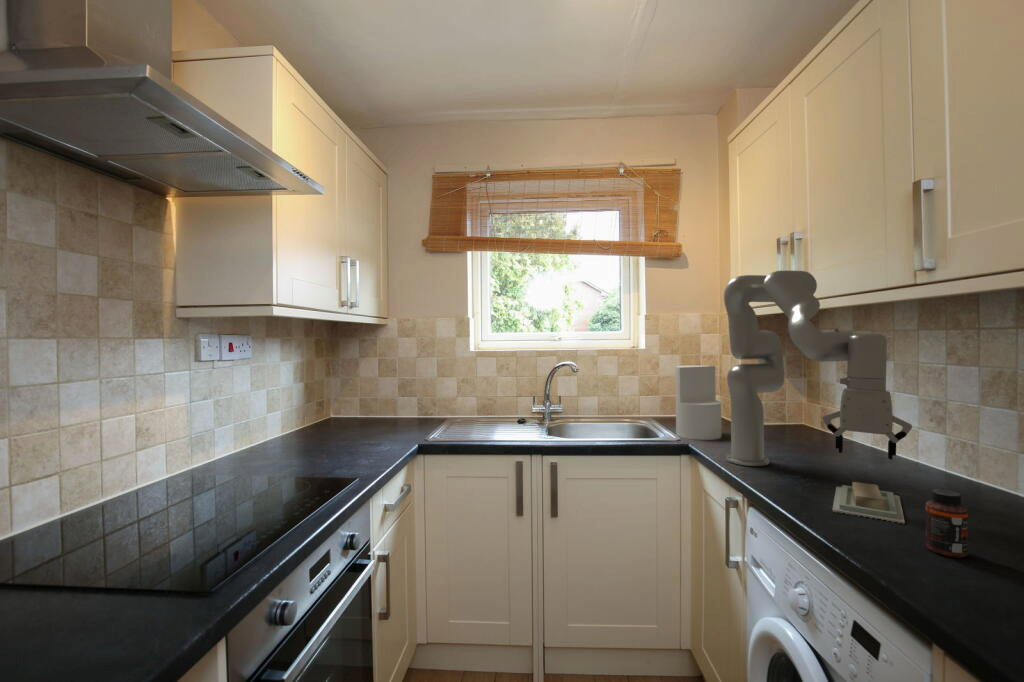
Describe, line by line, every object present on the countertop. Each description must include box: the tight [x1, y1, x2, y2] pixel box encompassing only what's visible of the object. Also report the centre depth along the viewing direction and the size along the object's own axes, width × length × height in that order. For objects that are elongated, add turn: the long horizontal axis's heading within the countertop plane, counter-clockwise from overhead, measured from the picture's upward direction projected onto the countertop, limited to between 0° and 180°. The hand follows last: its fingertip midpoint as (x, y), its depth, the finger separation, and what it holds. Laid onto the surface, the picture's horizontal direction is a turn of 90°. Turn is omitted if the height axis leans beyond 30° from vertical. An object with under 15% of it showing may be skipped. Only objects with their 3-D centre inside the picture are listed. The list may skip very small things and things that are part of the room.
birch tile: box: [852, 481, 883, 510], centre depth 115 cm, size 5×12×3 cm, turn 147°
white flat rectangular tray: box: [832, 484, 906, 525], centre depth 115 cm, size 20×13×2 cm, turn 143°
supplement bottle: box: [925, 488, 969, 559], centre depth 90 cm, size 6×6×11 cm
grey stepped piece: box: [675, 364, 722, 441], centre depth 194 cm, size 17×17×28 cm
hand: (864, 454), depth 115 cm, fingers open, 9 cm apart
